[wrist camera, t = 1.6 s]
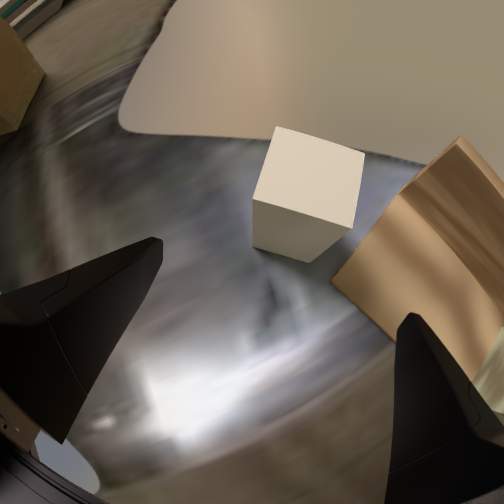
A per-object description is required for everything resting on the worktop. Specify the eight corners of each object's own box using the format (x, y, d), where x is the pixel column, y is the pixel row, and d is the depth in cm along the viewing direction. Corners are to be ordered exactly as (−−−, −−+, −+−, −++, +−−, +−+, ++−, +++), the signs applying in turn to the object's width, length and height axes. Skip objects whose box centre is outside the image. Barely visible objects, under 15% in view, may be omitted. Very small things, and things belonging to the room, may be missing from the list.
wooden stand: (477, 426, 19) (558, 457, 6) (329, 281, 22) (415, 248, 9) (524, 341, 20) (605, 340, 8) (401, 187, 23) (485, 110, 11)
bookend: (309, 263, 22) (352, 228, 12) (252, 246, 22) (252, 198, 12) (321, 215, 23) (364, 153, 13) (266, 198, 23) (276, 126, 13)
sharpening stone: (-8, 71, 29) (-34, 41, 18) (-13, 64, 30) (-36, 37, 19) (85, -9, 32) (71, -43, 22) (72, -10, 33) (58, -41, 23)
